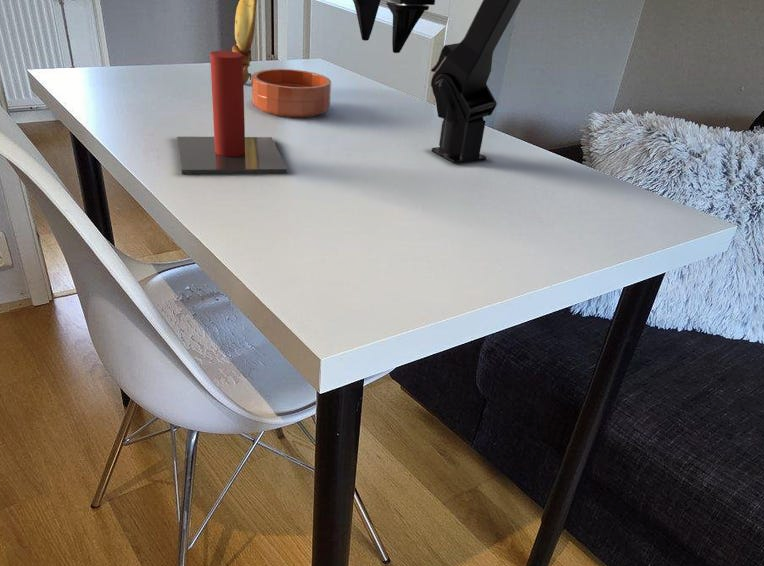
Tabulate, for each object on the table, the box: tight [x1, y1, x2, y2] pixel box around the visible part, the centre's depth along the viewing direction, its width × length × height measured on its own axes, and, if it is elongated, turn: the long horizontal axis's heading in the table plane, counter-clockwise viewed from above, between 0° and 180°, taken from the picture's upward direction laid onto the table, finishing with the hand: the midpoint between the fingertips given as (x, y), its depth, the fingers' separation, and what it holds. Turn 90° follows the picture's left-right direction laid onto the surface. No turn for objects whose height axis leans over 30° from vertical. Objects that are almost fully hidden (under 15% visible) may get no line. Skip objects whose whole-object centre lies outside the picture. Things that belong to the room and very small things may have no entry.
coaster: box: [176, 136, 288, 175], centre depth 95 cm, size 14×14×1 cm
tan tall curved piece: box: [231, 0, 258, 85], centre depth 123 cm, size 7×5×20 cm
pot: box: [251, 68, 332, 118], centre depth 117 cm, size 14×14×5 cm
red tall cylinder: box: [209, 50, 246, 157], centre depth 91 cm, size 4×4×13 cm
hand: (380, 46), depth 105 cm, fingers open, 9 cm apart
